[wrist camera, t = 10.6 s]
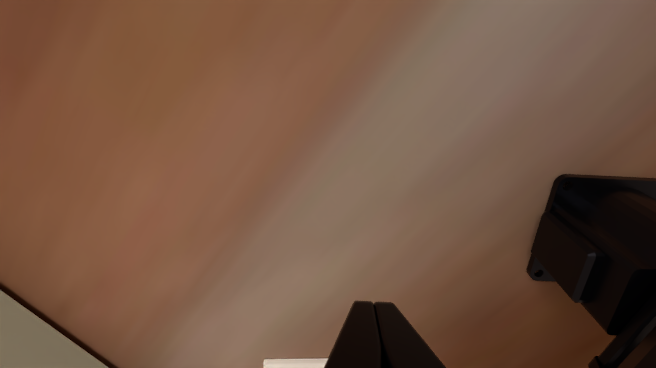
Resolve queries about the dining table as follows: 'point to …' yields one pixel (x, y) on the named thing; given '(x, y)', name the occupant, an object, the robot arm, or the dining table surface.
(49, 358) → the panel
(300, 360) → the card
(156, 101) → the dining table surface
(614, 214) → the robot arm
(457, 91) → the dining table surface
